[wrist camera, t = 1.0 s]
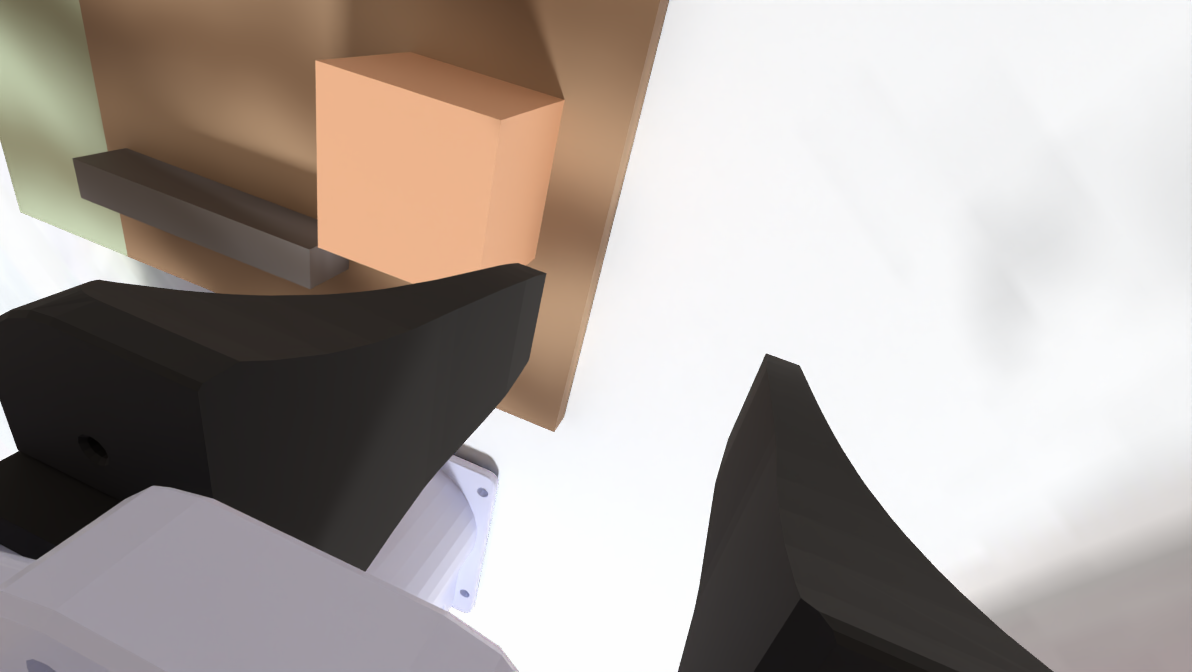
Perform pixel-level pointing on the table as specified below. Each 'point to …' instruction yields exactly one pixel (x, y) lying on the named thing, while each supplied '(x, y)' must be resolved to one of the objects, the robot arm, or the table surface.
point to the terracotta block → (430, 165)
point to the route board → (304, 135)
